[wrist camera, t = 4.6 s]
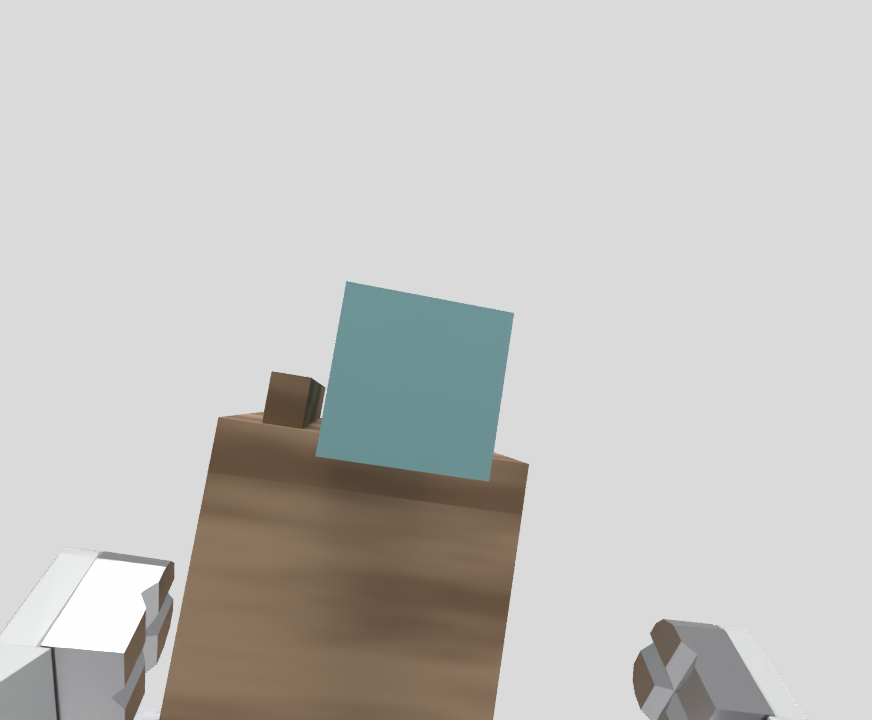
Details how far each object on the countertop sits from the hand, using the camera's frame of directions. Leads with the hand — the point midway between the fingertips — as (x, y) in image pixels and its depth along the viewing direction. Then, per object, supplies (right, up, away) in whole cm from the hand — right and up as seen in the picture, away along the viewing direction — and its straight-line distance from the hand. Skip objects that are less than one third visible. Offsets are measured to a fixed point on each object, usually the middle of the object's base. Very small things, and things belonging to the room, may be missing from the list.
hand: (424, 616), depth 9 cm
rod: (-2, +1, +14) cm, 14 cm away
